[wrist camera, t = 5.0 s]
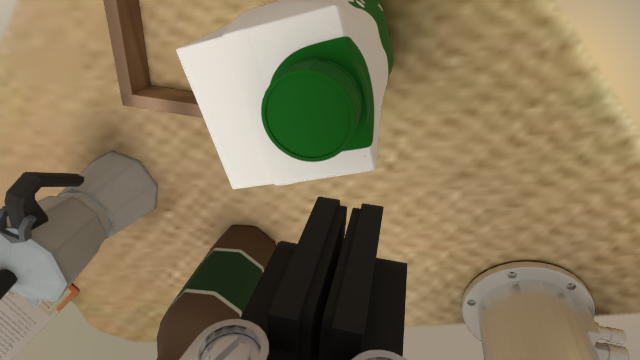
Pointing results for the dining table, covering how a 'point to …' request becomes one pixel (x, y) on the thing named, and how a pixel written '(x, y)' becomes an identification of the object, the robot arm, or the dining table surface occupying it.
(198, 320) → the beer bottle
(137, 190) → the coffee maker
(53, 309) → the cracker box
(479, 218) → the dining table surface
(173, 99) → the frame
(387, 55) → the soya milk
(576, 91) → the dining table surface
